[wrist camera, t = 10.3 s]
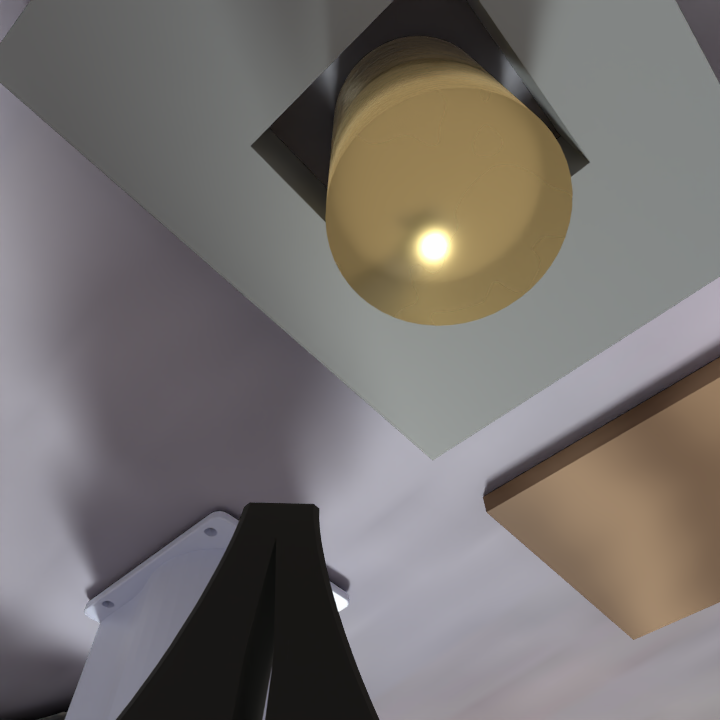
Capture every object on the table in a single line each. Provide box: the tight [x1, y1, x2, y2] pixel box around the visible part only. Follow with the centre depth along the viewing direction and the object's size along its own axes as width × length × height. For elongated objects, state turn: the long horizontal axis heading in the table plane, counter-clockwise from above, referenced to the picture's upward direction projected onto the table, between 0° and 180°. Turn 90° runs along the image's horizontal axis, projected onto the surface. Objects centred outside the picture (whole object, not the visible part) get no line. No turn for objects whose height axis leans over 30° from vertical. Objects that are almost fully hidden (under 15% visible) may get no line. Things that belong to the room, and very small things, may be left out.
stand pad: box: [483, 357, 720, 640], centre depth 25 cm, size 12×12×1 cm
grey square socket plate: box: [0, 0, 720, 460], centre depth 16 cm, size 12×16×2 cm
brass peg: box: [325, 36, 573, 326], centre depth 14 cm, size 4×4×7 cm
